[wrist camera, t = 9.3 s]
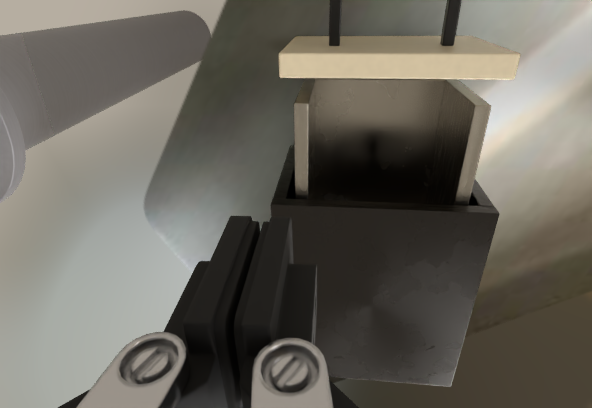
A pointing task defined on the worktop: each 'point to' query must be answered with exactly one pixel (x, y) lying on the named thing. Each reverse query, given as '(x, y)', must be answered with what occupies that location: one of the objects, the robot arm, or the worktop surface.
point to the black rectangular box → (390, 279)
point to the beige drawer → (390, 113)
